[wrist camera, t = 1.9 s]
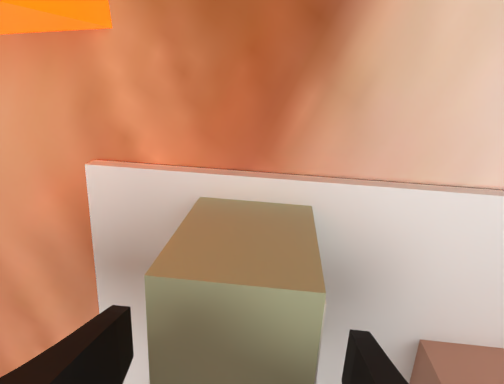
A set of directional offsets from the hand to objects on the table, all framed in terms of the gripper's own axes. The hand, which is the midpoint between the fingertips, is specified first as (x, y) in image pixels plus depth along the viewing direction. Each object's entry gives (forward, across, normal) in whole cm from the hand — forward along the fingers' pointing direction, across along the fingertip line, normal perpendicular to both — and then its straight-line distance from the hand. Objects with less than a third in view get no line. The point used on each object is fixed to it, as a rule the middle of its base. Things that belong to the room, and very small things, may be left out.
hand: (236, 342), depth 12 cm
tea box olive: (+4, 0, 0) cm, 4 cm away
